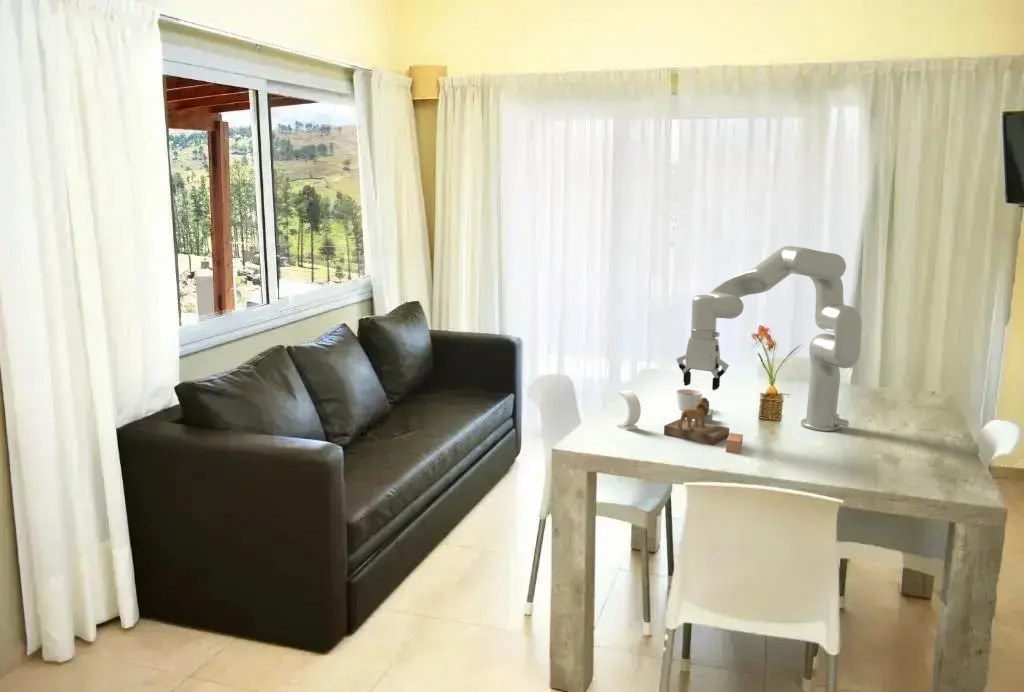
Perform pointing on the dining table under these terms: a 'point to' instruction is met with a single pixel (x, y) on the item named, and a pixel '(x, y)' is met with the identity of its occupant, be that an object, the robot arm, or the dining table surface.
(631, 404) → the white crescent moon figurine
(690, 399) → the candle
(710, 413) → the sage brick
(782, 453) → the dining table surface
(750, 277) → the robot arm
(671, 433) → the walnut plinth
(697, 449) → the dining table surface
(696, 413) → the lion figurine
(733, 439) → the terracotta brick
